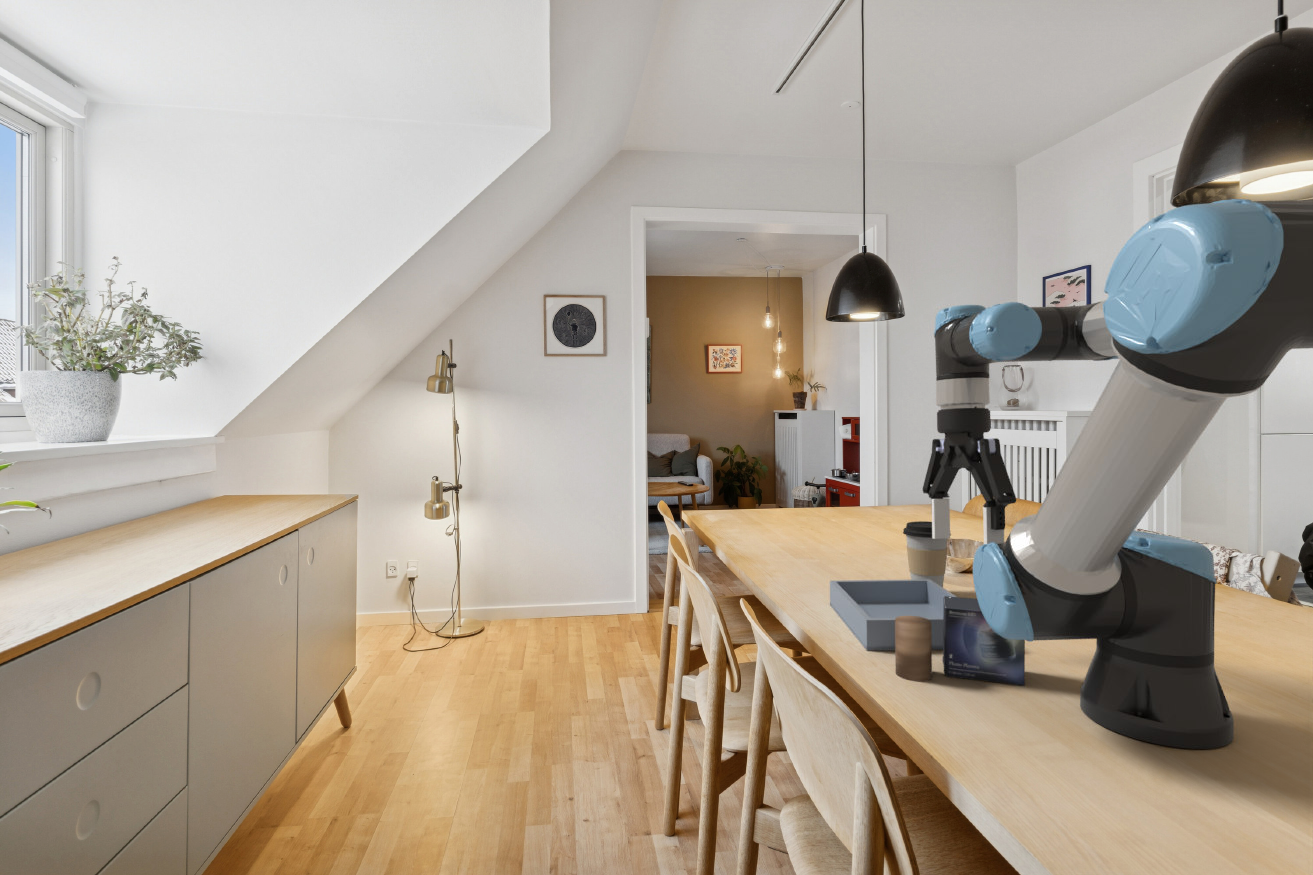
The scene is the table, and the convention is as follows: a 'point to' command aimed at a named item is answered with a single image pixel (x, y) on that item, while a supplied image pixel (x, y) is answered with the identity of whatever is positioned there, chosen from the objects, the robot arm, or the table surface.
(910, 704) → the table surface
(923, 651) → the walnut cylinder
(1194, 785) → the table surface
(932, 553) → the coffee cup
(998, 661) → the small box
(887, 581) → the tray
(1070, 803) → the table surface
